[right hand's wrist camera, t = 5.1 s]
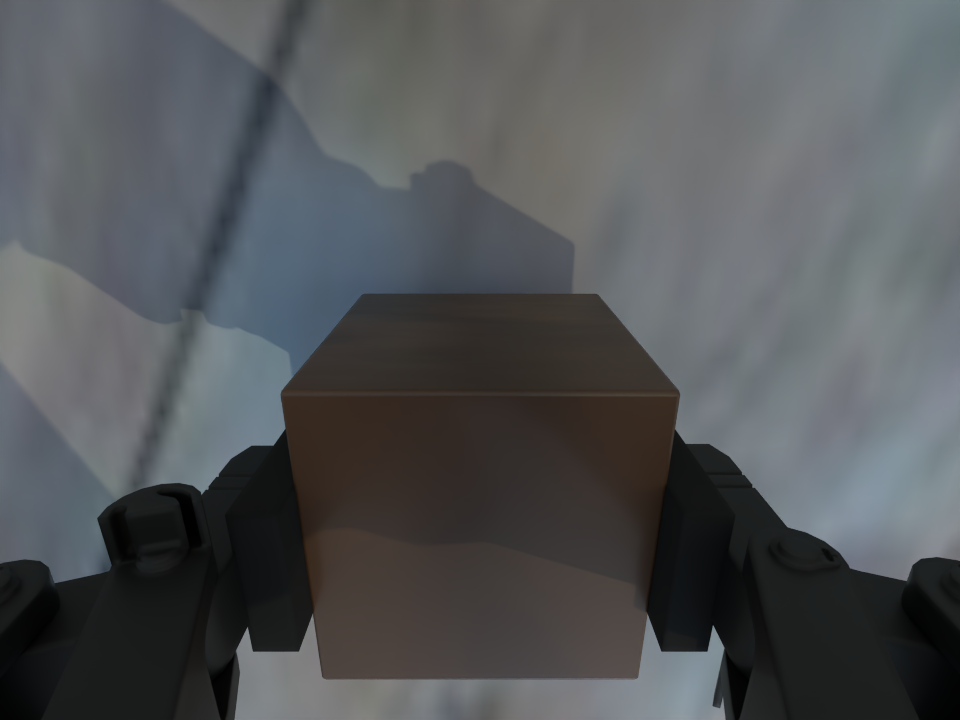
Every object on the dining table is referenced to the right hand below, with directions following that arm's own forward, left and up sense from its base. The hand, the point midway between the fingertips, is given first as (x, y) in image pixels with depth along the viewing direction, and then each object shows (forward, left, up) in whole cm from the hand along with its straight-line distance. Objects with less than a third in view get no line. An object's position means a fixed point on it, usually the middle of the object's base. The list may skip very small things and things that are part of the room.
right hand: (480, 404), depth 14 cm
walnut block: (0, 0, 0) cm, 0 cm away
